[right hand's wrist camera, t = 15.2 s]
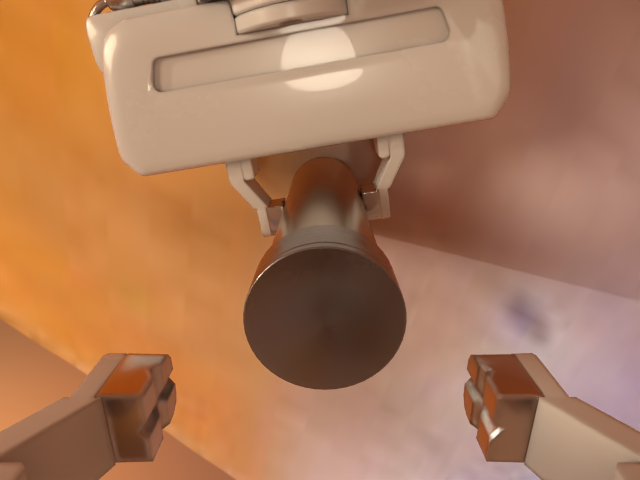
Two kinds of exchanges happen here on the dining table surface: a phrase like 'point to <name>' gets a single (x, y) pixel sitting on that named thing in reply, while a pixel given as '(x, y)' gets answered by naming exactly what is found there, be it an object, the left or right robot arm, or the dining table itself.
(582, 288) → the dining table surface
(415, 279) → the dining table surface
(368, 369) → the lid
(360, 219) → the brown cylinder
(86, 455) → the right robot arm
